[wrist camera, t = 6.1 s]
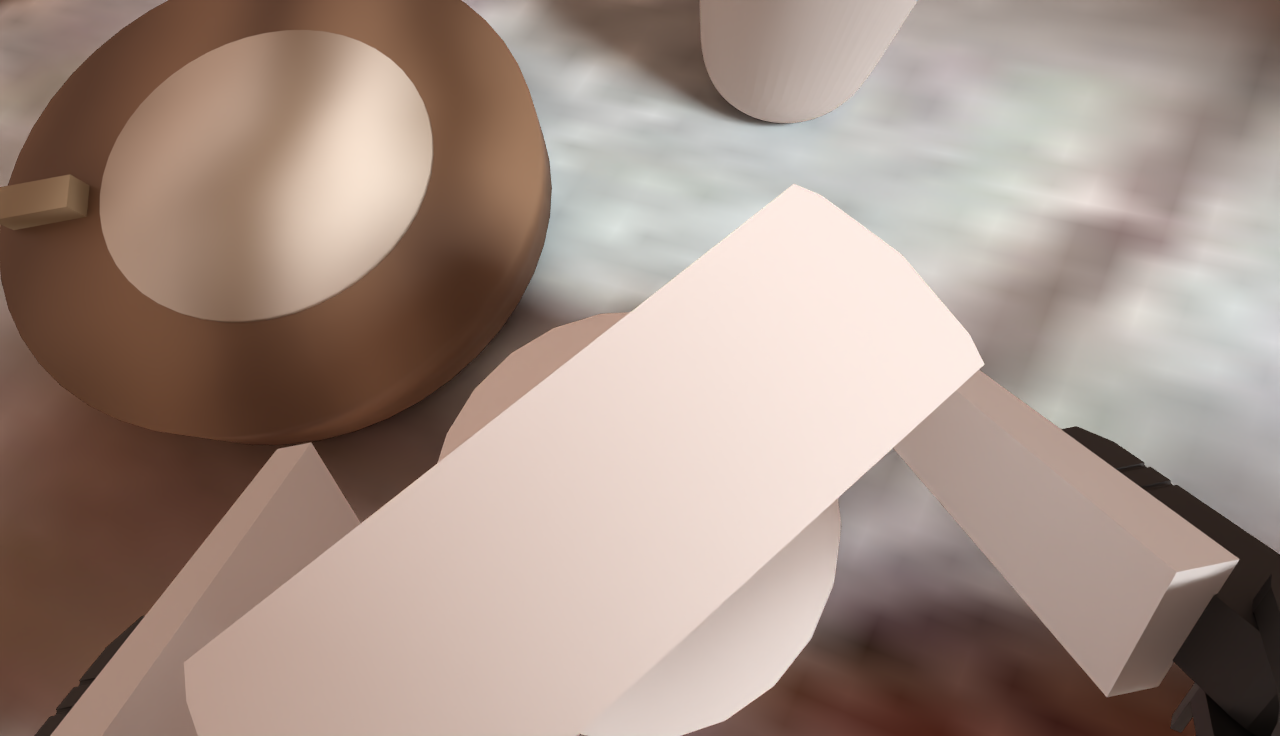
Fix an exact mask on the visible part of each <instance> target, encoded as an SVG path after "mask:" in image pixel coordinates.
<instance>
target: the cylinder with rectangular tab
mask: <svg viewBox="0 0 1280 736" xmlns="http://www.w3.org/2000/svg"><path fill="white" fill-rule="evenodd" d="M983 365H984V362H983V360H982V358H981V356H980V354H979V352H978V350H977V348H976V346H975V344H974V342H973V340H972V338H971V336H970V334H969V333H968V332H967V331H966V330H965V329H964V327H963V326H962V325H961V324H960V323H959V321H958V320H957V319H956V318H955V317H954V316H953V314H952V313H951V312H950V311H949V310H948V308H947V307H946V306H945V305H944V304H943V303H942V301H941V300H940V299H939V298H938V297H937V295H936V294H935V293H934V292H933V291H932V289H931V288H930V287H929V286H928V285H927V284H926V282H925V281H924V280H923V279H922V278H921V276H920V275H919V274H918V273H917V272H916V271H915V269H914V268H913V267H912V266H911V265H910V263H909V262H908V261H907V260H906V259H905V258H904V256H903V255H902V254H901V253H899V252H898V251H897V250H895V249H894V248H892V247H891V246H890V245H888V244H887V243H886V242H884V241H883V240H882V239H880V238H879V237H877V236H876V235H875V234H873V233H872V232H871V231H869V230H868V229H867V228H865V227H864V226H863V225H861V224H860V223H858V222H857V221H856V220H854V219H853V218H852V217H850V216H849V215H848V214H846V213H845V212H843V211H842V210H841V209H839V208H838V207H837V206H835V205H834V204H833V203H831V202H830V201H828V200H827V199H826V198H824V197H823V196H822V195H819V194H817V193H815V192H812V191H810V190H808V189H805V188H803V187H801V186H798V185H796V184H793V185H792V186H791V187H789V188H788V189H787V190H785V191H784V192H783V193H782V194H780V195H779V196H778V197H777V198H775V199H774V200H773V201H771V202H770V203H769V204H768V205H766V206H765V207H764V208H762V209H761V210H760V211H759V212H757V213H756V214H755V215H754V216H752V217H751V218H750V219H748V220H747V221H746V222H745V223H743V224H742V225H741V226H740V227H738V228H737V229H736V230H734V231H733V232H732V233H731V234H729V235H728V236H727V237H726V238H724V239H723V240H722V241H720V242H719V243H718V244H717V245H715V246H714V247H713V248H712V249H710V250H709V251H708V252H706V253H705V254H704V255H703V256H701V257H700V258H699V259H697V260H696V261H695V262H694V263H692V264H691V265H690V266H689V267H687V268H686V269H685V270H683V271H682V272H681V273H680V274H678V275H677V276H676V277H675V278H673V279H672V280H671V281H669V282H668V283H667V284H666V285H664V286H663V287H662V288H661V289H659V290H658V291H657V292H655V293H654V294H653V295H652V296H650V297H649V298H648V299H646V300H645V301H644V302H643V303H641V304H640V305H639V306H638V307H636V308H635V309H634V310H632V311H631V312H628V313H606V314H598V315H595V316H592V317H588V318H585V319H582V320H578V321H575V322H572V323H568V324H565V325H562V326H558V327H555V328H553V329H551V330H549V331H548V332H546V333H544V334H543V335H541V336H539V337H538V338H536V339H534V340H532V341H531V342H529V343H527V344H526V345H524V346H522V347H521V348H519V349H517V350H516V351H514V352H512V353H511V354H510V355H509V356H508V357H507V358H506V359H505V360H504V361H503V362H501V363H500V364H499V365H498V366H497V367H496V368H495V369H494V370H493V371H492V372H491V373H490V374H489V375H488V376H487V377H486V378H485V379H484V380H483V381H482V382H481V383H480V384H479V385H478V386H477V387H476V388H475V389H474V391H473V392H472V394H471V395H470V397H469V399H468V400H467V402H466V404H465V405H464V407H463V408H462V410H461V412H460V413H459V415H458V416H457V418H456V420H455V421H454V423H453V425H452V426H451V428H450V429H449V431H448V433H447V435H446V438H445V441H444V444H443V447H442V450H441V453H440V457H439V460H438V463H437V464H436V465H435V466H434V467H432V468H431V469H430V470H428V471H427V472H426V473H425V474H423V475H422V476H421V477H420V478H418V479H417V480H416V481H414V482H413V483H412V484H411V485H409V486H408V487H407V488H406V489H404V490H403V491H402V492H400V493H399V494H398V495H397V496H395V497H394V498H393V499H391V500H390V501H389V502H388V503H386V504H385V505H384V506H383V507H381V508H380V509H379V510H377V511H376V512H375V513H374V514H372V515H371V516H370V517H369V518H367V519H366V520H365V521H363V522H362V523H361V524H360V525H358V526H357V527H356V528H355V529H353V530H352V531H351V532H349V533H348V534H347V535H346V536H344V537H343V538H342V539H341V540H339V541H338V542H337V543H335V544H334V545H333V546H332V547H330V548H329V549H328V550H326V551H325V552H324V553H323V554H321V555H320V556H319V557H318V558H316V559H315V560H314V561H312V562H311V563H310V564H309V565H307V566H306V567H305V568H304V569H302V570H301V571H300V572H298V573H297V574H296V575H295V576H293V577H292V578H291V579H290V580H288V581H287V582H286V583H284V584H283V585H282V586H281V587H279V588H278V589H277V590H275V591H274V592H273V593H272V594H270V595H269V596H268V597H267V598H265V599H264V600H263V601H261V602H260V603H259V604H258V605H256V606H255V607H254V608H253V609H251V610H250V611H249V612H247V613H246V614H245V615H244V616H242V617H241V618H240V619H239V620H237V621H236V622H235V623H233V624H232V625H231V626H230V627H228V628H227V629H226V630H224V631H223V632H222V633H221V634H219V635H218V636H217V637H216V638H214V639H213V640H212V641H210V642H209V643H208V644H207V645H205V646H204V647H203V648H202V649H200V650H199V651H198V652H196V653H195V654H194V655H193V656H191V657H190V658H189V659H188V660H186V661H185V662H184V674H185V689H186V702H187V705H188V708H189V711H190V714H191V717H192V720H193V723H194V726H195V729H196V732H197V735H198V736H577V735H578V734H579V733H580V734H583V735H587V736H681V735H684V734H687V733H690V732H693V731H696V730H699V729H702V728H705V727H708V726H711V725H714V724H717V723H720V722H723V721H725V720H727V719H728V718H730V717H731V716H732V715H734V714H735V713H737V712H738V711H740V710H741V709H742V708H744V707H745V706H747V705H748V704H749V703H751V702H752V701H754V700H755V699H756V698H758V697H759V696H761V695H762V694H763V693H765V692H766V691H768V690H769V689H770V688H772V687H773V686H774V685H775V684H776V683H777V682H778V680H779V679H780V678H781V676H782V675H783V674H784V673H785V671H786V670H787V669H788V668H789V666H790V665H791V664H792V662H793V661H794V660H795V659H796V657H797V656H798V655H799V654H800V652H801V651H802V650H803V648H804V647H805V646H806V645H807V643H808V642H809V641H810V640H811V638H812V636H813V633H814V631H815V628H816V626H817V623H818V621H819V619H820V616H821V614H822V611H823V609H824V607H825V604H826V602H827V599H828V597H829V595H830V592H831V590H832V587H833V585H834V579H835V572H836V564H837V556H838V549H839V541H840V533H841V519H840V511H839V504H838V497H839V496H841V495H842V494H843V493H844V492H845V491H846V490H847V489H848V488H849V487H850V486H852V485H853V484H854V483H855V482H856V481H857V480H858V479H859V478H860V477H861V476H863V475H864V474H865V473H866V472H867V471H868V470H869V469H870V468H871V467H872V466H873V465H875V464H876V463H877V462H878V461H879V460H880V459H881V458H882V457H883V456H884V455H886V454H887V453H888V452H889V451H890V450H891V449H892V448H893V447H894V446H895V445H897V444H898V443H899V442H900V441H901V440H902V439H903V438H904V437H905V436H906V435H908V434H909V433H910V432H911V431H912V430H913V429H914V428H915V427H916V426H917V425H918V424H920V423H921V422H922V421H923V420H924V419H925V418H926V417H927V416H928V415H929V414H931V413H932V412H933V411H934V410H935V409H936V408H937V407H938V406H939V405H940V404H942V403H943V402H944V401H945V400H946V399H947V398H948V397H949V396H950V395H951V394H953V393H954V392H955V391H956V390H957V389H958V388H959V387H960V386H961V385H962V384H963V383H965V382H966V381H967V380H968V379H969V378H970V377H971V376H972V375H973V374H974V373H976V372H977V371H978V370H979V369H980V368H981V367H982V366H983Z"/></svg>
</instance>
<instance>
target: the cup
mask: <svg viewBox="0 0 1280 736" xmlns="http://www.w3.org/2000/svg"><path fill="white" fill-rule="evenodd" d="M917 1H918V0H700V32H701V46H702V53H703V58H704V63H705V66H706V69H707V72H708V74H709V77H710V79H711V81H712V83H713V84H714V86H715V88H716V89H717V90H718V92H719V93H720V94H721V95H722V96H723V97H724V99H725V100H727V101H728V102H729V103H730V104H731V105H732V106H734V107H735V108H737V109H738V110H740V111H742V112H743V113H745V114H747V115H749V116H752V117H754V118H757V119H761V120H764V121H769V122H776V123H797V122H803V121H808V120H812V119H815V118H818V117H820V116H823V115H825V114H827V113H829V112H831V111H833V110H834V109H836V108H837V107H839V106H840V105H842V104H843V103H844V102H846V101H847V100H848V99H849V98H850V97H851V96H852V95H853V94H854V93H855V92H856V91H857V90H858V89H859V88H860V87H861V86H862V84H863V83H864V82H865V80H866V79H867V78H868V76H869V75H870V74H871V72H872V71H873V69H874V68H875V66H876V65H877V63H878V62H879V60H880V59H881V57H882V56H883V54H884V53H885V51H886V49H887V48H888V46H889V45H890V43H891V42H892V40H893V38H894V37H895V35H896V34H897V32H898V31H899V29H900V28H901V26H902V24H903V23H904V21H905V20H906V18H907V17H908V15H909V14H910V12H911V10H912V9H913V7H914V6H915V4H916V3H917Z"/></svg>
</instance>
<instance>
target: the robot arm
mask: <svg viewBox="0 0 1280 736" xmlns="http://www.w3.org/2000/svg"><path fill="white" fill-rule="evenodd" d="M893 448H894V450H895V451H896V452H897V453H898V454H899V455H900V457H901V458H902V459H903V460H904V461H905V462H906V464H907V465H908V466H909V467H910V468H911V469H912V471H913V472H914V473H915V474H916V475H917V476H918V478H919V479H920V480H921V481H922V482H923V483H924V485H925V486H926V487H927V488H928V489H929V490H930V492H931V493H932V494H933V495H934V496H935V497H936V499H937V500H938V501H939V502H940V503H941V504H942V506H943V507H944V508H945V509H946V510H947V511H948V513H949V514H950V515H951V516H952V517H953V518H954V520H955V521H956V522H957V523H958V524H959V525H960V527H961V528H962V529H963V530H964V531H965V532H966V534H967V535H968V536H969V537H970V538H971V539H972V541H973V542H974V543H975V544H976V545H977V546H978V548H979V549H980V550H981V551H982V552H983V553H984V555H985V556H986V557H987V558H988V559H989V560H990V562H991V563H992V564H993V565H994V566H995V567H996V569H997V570H998V571H999V572H1000V573H1001V574H1002V576H1003V577H1004V578H1005V579H1006V580H1007V581H1008V583H1009V584H1010V585H1011V586H1012V587H1013V588H1014V590H1015V591H1016V592H1017V593H1018V594H1019V595H1020V597H1021V598H1022V599H1023V600H1024V601H1025V602H1026V604H1027V605H1028V606H1029V607H1030V608H1031V609H1032V611H1033V612H1034V613H1035V614H1036V615H1037V616H1038V618H1039V619H1040V620H1041V621H1042V622H1043V623H1044V625H1045V626H1046V627H1047V628H1048V629H1049V630H1050V632H1051V633H1052V634H1053V635H1054V636H1055V637H1056V639H1057V640H1058V641H1059V642H1060V643H1061V644H1062V646H1063V647H1064V648H1065V649H1066V650H1067V651H1068V653H1069V654H1070V655H1071V656H1072V657H1073V658H1074V660H1075V661H1076V662H1077V663H1078V664H1079V665H1080V667H1081V668H1082V669H1083V670H1084V671H1085V672H1086V674H1087V675H1088V676H1089V677H1090V678H1091V679H1092V681H1093V682H1094V683H1095V684H1096V685H1097V686H1098V688H1099V689H1100V690H1101V691H1102V692H1103V693H1104V695H1105V696H1106V697H1111V696H1116V695H1121V694H1125V693H1130V692H1135V691H1140V690H1144V689H1149V688H1154V687H1158V686H1159V685H1160V683H1161V682H1162V680H1163V678H1164V677H1165V675H1166V674H1167V672H1168V671H1169V669H1170V667H1171V666H1172V664H1173V663H1174V662H1175V663H1176V664H1177V665H1178V666H1179V667H1180V668H1181V669H1182V670H1183V671H1184V672H1185V673H1186V674H1187V675H1188V676H1189V677H1190V678H1191V679H1192V680H1193V681H1194V682H1195V683H1194V685H1193V686H1192V688H1191V689H1190V690H1189V692H1188V693H1187V695H1186V696H1185V698H1184V699H1183V700H1182V702H1181V703H1180V705H1179V706H1178V708H1177V709H1176V710H1175V712H1174V713H1173V715H1172V721H1171V727H1170V729H1173V730H1175V731H1178V732H1180V733H1181V732H1182V731H1183V729H1184V728H1185V727H1186V725H1187V724H1188V723H1189V721H1190V720H1191V719H1192V717H1193V719H1194V725H1195V731H1196V736H1280V555H1279V554H1278V553H1277V552H1275V551H1274V550H1272V549H1271V548H1269V547H1268V546H1266V545H1265V544H1263V543H1262V542H1260V541H1259V540H1257V539H1256V538H1254V537H1253V536H1251V535H1250V534H1249V533H1247V532H1246V531H1244V530H1243V529H1241V528H1240V527H1238V526H1237V525H1235V524H1234V523H1232V522H1231V521H1229V520H1228V519H1226V518H1225V517H1224V516H1222V515H1221V514H1219V513H1218V512H1216V511H1215V510H1213V509H1212V508H1210V507H1209V506H1207V505H1206V504H1204V503H1203V502H1201V501H1200V500H1198V499H1197V498H1196V497H1194V496H1193V495H1191V494H1190V493H1188V492H1187V491H1185V490H1184V489H1182V488H1181V487H1179V486H1178V485H1175V486H1173V485H1172V484H1171V483H1170V480H1169V479H1168V478H1166V477H1165V476H1163V475H1162V474H1160V473H1159V472H1157V471H1156V470H1154V469H1153V468H1151V467H1148V468H1147V467H1146V466H1145V465H1144V462H1143V461H1141V460H1140V459H1138V458H1137V457H1135V456H1134V455H1132V454H1131V453H1129V452H1128V451H1126V450H1125V449H1123V448H1122V447H1120V446H1119V445H1118V444H1116V443H1115V442H1113V441H1110V440H1108V439H1106V438H1103V437H1101V436H1098V435H1096V434H1094V433H1091V432H1089V431H1086V430H1084V429H1082V428H1079V427H1077V426H1076V427H1071V428H1066V429H1060V428H1058V427H1057V426H1056V425H1054V424H1053V423H1052V422H1050V421H1049V420H1047V419H1046V418H1045V417H1043V416H1042V415H1041V414H1039V413H1038V412H1036V411H1035V410H1034V409H1032V408H1031V407H1030V406H1028V405H1027V404H1025V403H1024V402H1023V401H1021V400H1020V399H1019V398H1017V397H1016V396H1014V395H1013V394H1012V393H1010V392H1009V391H1008V390H1006V389H1005V388H1003V387H1002V386H1001V385H999V384H998V383H997V382H995V381H994V380H992V379H991V378H990V377H988V376H987V375H986V374H984V373H983V372H981V371H980V370H978V371H977V372H976V373H974V374H973V375H972V376H971V377H970V378H969V379H968V380H967V381H966V382H965V383H963V384H962V385H961V386H960V387H959V388H958V389H957V390H956V391H955V392H954V393H953V394H951V395H950V396H949V397H948V398H947V399H946V400H945V401H944V402H943V403H942V404H940V405H939V406H938V407H937V408H936V409H935V410H934V411H933V412H932V413H931V414H929V415H928V416H927V417H926V418H925V419H924V420H923V421H922V422H921V423H920V424H918V425H917V426H916V427H915V428H914V429H913V430H912V431H911V432H910V433H909V434H908V435H906V436H905V437H904V438H903V439H902V440H901V441H900V442H899V443H898V444H897V445H895V446H894V447H893ZM360 524H361V523H360V521H359V519H358V518H357V516H356V515H355V513H354V511H353V510H352V508H351V506H350V505H349V503H348V502H347V500H346V498H345V497H344V495H343V493H342V492H341V490H340V488H339V487H338V485H337V484H336V482H335V480H334V479H333V477H332V475H331V474H330V472H329V471H328V469H327V467H326V466H325V464H324V462H323V461H322V459H321V458H320V456H319V454H318V453H317V451H316V449H315V448H314V446H313V444H312V443H311V442H310V443H305V444H300V445H295V446H290V447H285V448H280V449H277V450H276V451H275V452H274V454H273V455H272V456H271V457H270V459H269V460H268V461H267V463H266V464H265V465H264V466H263V468H262V469H261V470H260V471H259V473H258V474H257V475H256V476H255V478H254V479H253V480H252V481H251V483H250V484H249V485H248V487H247V488H246V489H245V490H244V492H243V493H242V494H241V495H240V497H239V498H238V499H237V500H236V502H235V503H234V504H233V505H232V507H231V508H230V509H229V511H228V512H227V513H226V514H225V516H224V517H223V518H222V519H221V521H220V522H219V523H218V524H217V526H216V527H215V528H214V529H213V531H212V532H211V533H210V535H209V536H208V537H207V538H206V540H205V541H204V542H203V543H202V545H201V546H200V547H199V548H198V550H197V551H196V552H195V553H194V555H193V556H192V557H191V559H190V560H189V561H188V562H187V564H186V565H185V566H184V567H183V569H182V570H181V571H180V572H179V574H178V575H177V576H176V577H175V579H174V580H173V581H172V583H171V584H170V585H169V586H168V588H167V589H166V590H165V591H164V593H163V594H162V595H161V596H160V598H159V599H158V600H157V601H156V603H155V604H154V605H153V607H152V608H151V609H150V610H149V612H148V613H147V614H146V615H145V616H141V617H140V618H139V619H138V620H137V621H136V622H135V623H134V624H132V625H131V626H130V627H129V628H128V629H127V630H126V631H124V632H123V633H122V634H121V635H120V636H119V637H118V638H116V639H115V640H114V641H113V642H112V643H111V644H110V645H108V646H107V647H106V649H105V650H104V651H103V652H102V653H101V655H100V656H99V657H98V658H97V660H96V661H95V662H94V663H93V664H92V666H91V667H90V668H89V669H88V671H87V672H86V673H85V674H84V676H83V677H82V678H81V679H80V680H79V681H80V685H79V686H78V687H74V688H73V689H72V690H71V691H70V693H69V694H68V695H67V696H66V698H65V699H64V700H63V701H62V703H61V704H60V705H59V706H58V707H57V709H56V710H57V713H56V715H55V716H51V717H49V718H48V720H47V721H46V722H45V723H44V725H43V726H42V727H41V728H40V729H39V731H38V732H37V733H36V734H35V736H198V735H197V732H196V729H195V726H194V723H193V720H192V717H191V714H190V711H189V708H188V705H187V702H186V689H185V674H184V662H185V661H186V660H188V659H189V658H190V657H191V656H193V655H194V654H195V653H196V652H198V651H199V650H200V649H202V648H203V647H204V646H205V645H207V644H208V643H209V642H210V641H212V640H213V639H214V638H216V637H217V636H218V635H219V634H221V633H222V632H223V631H224V630H226V629H227V628H228V627H230V626H231V625H232V624H233V623H235V622H236V621H237V620H239V619H240V618H241V617H242V616H244V615H245V614H246V613H247V612H249V611H250V610H251V609H253V608H254V607H255V606H256V605H258V604H259V603H260V602H261V601H263V600H264V599H265V598H267V597H268V596H269V595H270V594H272V593H273V592H274V591H275V590H277V589H278V588H279V587H281V586H282V585H283V584H284V583H286V582H287V581H288V580H290V579H291V578H292V577H293V576H295V575H296V574H297V573H298V572H300V571H301V570H302V569H304V568H305V567H306V566H307V565H309V564H310V563H311V562H312V561H314V560H315V559H316V558H318V557H319V556H320V555H321V554H323V553H324V552H325V551H326V550H328V549H329V548H330V547H332V546H333V545H334V544H335V543H337V542H338V541H339V540H341V539H342V538H343V537H344V536H346V535H347V534H348V533H349V532H351V531H352V530H353V529H355V528H356V527H357V526H358V525H360Z"/></svg>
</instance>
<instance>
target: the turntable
mask: <svg viewBox="0 0 1280 736" xmlns="http://www.w3.org/2000/svg"><path fill="white" fill-rule="evenodd" d="M551 190H552V185H551V174H550V163H549V157H548V153H547V149H546V145H545V141H544V137H543V133H542V130H541V127H540V124H539V121H538V117H537V114H536V111H535V108H534V105H533V101H532V98H531V95H530V92H529V89H528V87H527V84H526V82H525V80H524V77H523V75H522V72H521V70H520V68H519V65H518V63H517V62H516V60H515V59H514V57H513V55H512V54H511V52H510V51H509V49H508V47H507V46H506V44H505V43H504V41H503V40H502V39H501V38H500V37H499V35H498V34H497V33H496V32H495V31H494V30H493V28H492V27H491V26H490V25H489V24H488V23H487V22H486V20H484V19H483V18H482V17H481V16H480V15H479V14H477V13H476V12H475V11H474V10H473V9H472V8H470V7H469V6H468V5H467V4H466V3H464V2H463V1H461V0H168V1H166V2H165V3H163V4H161V5H159V6H157V7H156V8H154V9H152V10H150V11H148V12H147V13H145V14H144V15H142V16H141V17H139V18H138V19H136V20H135V21H133V22H132V23H131V24H129V25H128V26H126V27H125V28H123V29H122V30H120V31H119V32H118V33H117V34H115V35H114V36H113V37H112V38H111V39H109V40H108V41H107V42H106V43H104V44H103V45H102V46H101V47H100V48H98V49H97V50H96V51H95V52H94V53H93V54H92V55H91V56H90V57H89V58H88V59H87V60H86V61H85V62H84V63H83V64H82V65H81V66H80V67H79V68H78V69H77V70H76V71H75V72H74V73H73V74H72V75H71V76H70V77H69V79H68V80H67V81H66V82H65V83H64V85H63V86H62V87H61V88H60V89H59V91H58V92H57V93H56V94H55V96H54V97H53V98H52V99H51V101H50V102H49V104H48V105H47V107H46V108H45V110H44V111H43V113H42V114H41V116H40V117H39V119H38V120H37V122H36V123H35V125H34V126H33V128H32V130H31V132H30V134H29V136H28V138H27V140H26V142H25V144H24V146H23V148H22V150H21V152H20V154H19V156H18V159H17V161H16V164H15V167H14V170H13V172H12V175H11V178H10V181H9V184H8V186H4V187H0V272H1V281H2V285H3V289H4V293H5V297H6V301H7V305H8V309H9V311H10V313H11V315H12V318H13V320H14V322H15V324H16V327H17V329H18V331H19V333H20V336H21V338H22V339H23V341H24V342H25V343H26V345H27V346H28V348H29V349H30V351H31V352H32V354H33V355H34V357H35V358H36V360H37V361H38V363H39V364H40V365H41V366H42V367H43V368H44V369H45V370H46V371H47V372H48V373H49V374H50V375H51V376H52V377H53V378H54V379H55V380H56V381H57V382H58V383H59V384H60V385H61V386H62V387H64V388H65V389H66V390H68V391H69V392H71V393H72V394H73V395H75V396H76V397H78V398H79V399H80V400H82V401H83V402H85V403H86V404H87V405H89V406H91V407H93V408H95V409H97V410H99V411H101V412H104V413H106V414H108V415H110V416H112V417H114V418H116V419H118V420H120V421H123V422H127V423H130V424H133V425H137V426H140V427H143V428H147V429H150V430H153V431H159V432H166V433H173V434H180V435H187V436H194V437H200V438H207V439H214V440H221V441H228V442H235V443H242V444H249V445H287V444H295V443H303V442H311V441H318V440H323V439H327V438H331V437H335V436H339V435H342V434H346V433H350V432H354V431H357V430H359V429H362V428H364V427H367V426H370V425H372V424H375V423H377V422H380V421H382V420H385V419H387V418H390V417H392V416H393V415H395V414H397V413H399V412H401V411H403V410H405V409H406V408H408V407H410V406H412V405H414V404H416V403H418V402H419V401H421V400H423V399H424V398H426V397H427V396H428V395H430V394H431V393H433V392H434V391H435V390H437V389H438V388H440V387H441V386H443V385H444V384H445V383H447V382H448V381H450V380H451V379H452V378H453V377H454V376H456V375H457V374H458V373H459V372H460V371H461V370H462V369H463V368H465V367H466V366H467V365H468V364H469V363H470V362H471V361H472V360H473V359H475V358H476V357H477V356H478V355H479V354H480V352H481V351H482V350H483V349H484V348H485V347H486V346H487V344H488V343H489V342H490V341H491V340H492V339H493V338H494V337H495V335H496V334H497V333H498V332H499V331H500V330H501V328H502V327H503V325H504V324H505V322H506V321H507V319H508V318H509V316H510V315H511V314H512V312H513V311H514V309H515V308H516V306H517V305H518V303H519V302H520V300H521V298H522V296H523V294H524V292H525V290H526V288H527V286H528V284H529V282H530V280H531V278H532V276H533V274H534V272H535V269H536V266H537V263H538V260H539V257H540V255H541V252H542V249H543V246H544V242H545V238H546V233H547V228H548V223H549V218H550V207H551Z"/></svg>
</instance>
